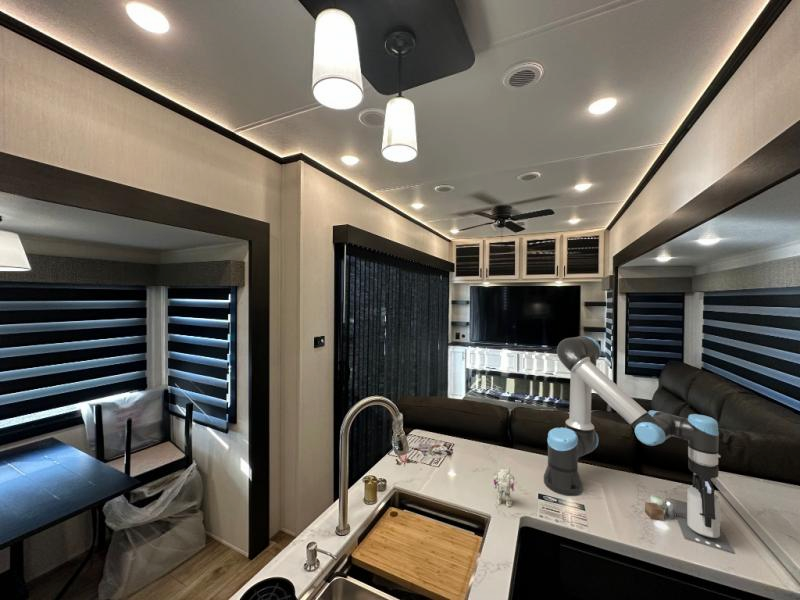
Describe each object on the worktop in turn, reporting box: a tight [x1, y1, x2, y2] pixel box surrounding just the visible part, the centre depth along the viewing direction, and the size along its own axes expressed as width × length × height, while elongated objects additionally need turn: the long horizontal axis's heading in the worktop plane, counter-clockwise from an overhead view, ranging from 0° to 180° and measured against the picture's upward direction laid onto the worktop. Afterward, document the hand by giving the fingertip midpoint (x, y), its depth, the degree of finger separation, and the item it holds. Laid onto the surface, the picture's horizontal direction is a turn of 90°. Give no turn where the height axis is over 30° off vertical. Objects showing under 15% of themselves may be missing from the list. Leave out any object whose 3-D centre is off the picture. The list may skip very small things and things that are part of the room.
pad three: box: [676, 516, 735, 554], centre depth 108 cm, size 12×12×1 cm
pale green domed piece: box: [649, 495, 665, 510], centre depth 123 cm, size 4×4×3 cm
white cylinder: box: [686, 486, 721, 538], centre depth 108 cm, size 8×8×12 cm
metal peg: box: [664, 497, 676, 520], centre depth 117 cm, size 3×3×6 cm
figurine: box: [493, 465, 515, 508], centre depth 124 cm, size 8×8×15 cm
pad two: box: [669, 497, 687, 519], centre depth 119 cm, size 12×12×1 cm
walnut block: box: [644, 501, 665, 522], centre depth 117 cm, size 4×4×4 cm
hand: (703, 526), depth 108 cm, fingers closed on white cylinder, 8 cm apart
